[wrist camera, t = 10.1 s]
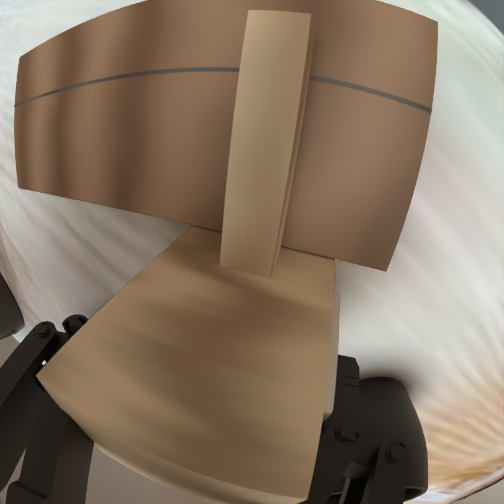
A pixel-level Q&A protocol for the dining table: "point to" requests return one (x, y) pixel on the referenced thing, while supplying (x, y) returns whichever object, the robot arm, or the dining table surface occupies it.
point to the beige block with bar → (220, 318)
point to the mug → (392, 429)
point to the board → (231, 117)
